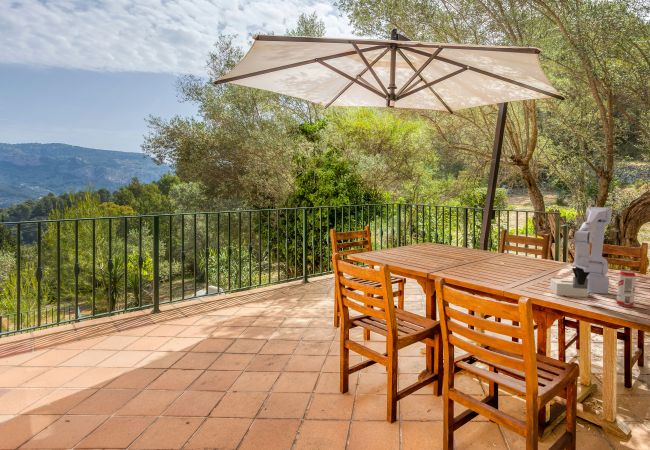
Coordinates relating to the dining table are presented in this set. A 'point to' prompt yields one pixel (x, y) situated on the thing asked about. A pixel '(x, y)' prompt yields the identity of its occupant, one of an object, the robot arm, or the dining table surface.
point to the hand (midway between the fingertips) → (579, 283)
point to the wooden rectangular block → (576, 285)
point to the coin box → (567, 288)
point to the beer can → (626, 288)
